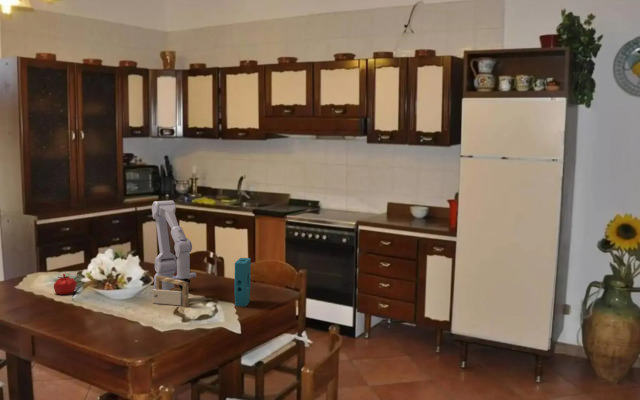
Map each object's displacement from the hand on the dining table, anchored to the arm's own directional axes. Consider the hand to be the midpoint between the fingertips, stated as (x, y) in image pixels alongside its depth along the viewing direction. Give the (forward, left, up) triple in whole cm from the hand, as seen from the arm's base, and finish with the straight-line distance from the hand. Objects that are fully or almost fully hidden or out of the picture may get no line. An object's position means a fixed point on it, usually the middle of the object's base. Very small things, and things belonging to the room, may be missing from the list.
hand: (183, 294), depth 281 cm
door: (+2, -11, -2) cm, 11 cm away
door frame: (+1, -8, -2) cm, 8 cm away
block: (+27, +11, -2) cm, 29 cm away
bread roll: (0, -5, -2) cm, 6 cm away
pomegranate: (-50, -28, -2) cm, 58 cm away
